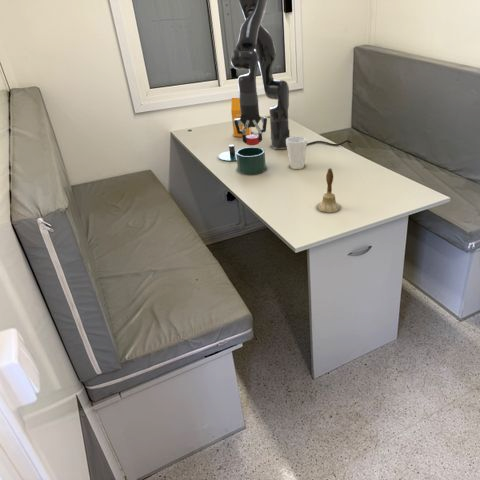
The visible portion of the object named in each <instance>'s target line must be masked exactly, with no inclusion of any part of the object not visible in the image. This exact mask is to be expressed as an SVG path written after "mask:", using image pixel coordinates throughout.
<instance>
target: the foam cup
mask: <svg viewBox="0 0 480 480" xmlns="http://www.w3.org/2000/svg"><path fill="white" fill-rule="evenodd" d="M307 144H308V139H307V137H304V136H300V135H298V136H297V135H295V136H290V137H289V138H287V139H286V145H287V148H286V150H287V155H288V160H289V167H290V168H291V169H292V170H293V169H294V170H301V169H304V167H305V161H306V152H307V146H308V145H307Z"/></svg>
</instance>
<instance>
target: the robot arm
mask: <svg viewBox="0 0 480 480" xmlns="http://www.w3.org/2000/svg"><path fill="white" fill-rule="evenodd" d="M238 2H239V6H240V8H241V12H242V13H243V17H244V20H245V21H244V22H243V23H242V24H241V27H240V30H239V36H238V41H237V43H236V45H235V46H234V47H233V50H232V52H231V56H230V63H231V65H232V67H233V68H234V69H235V70H248V71H249V72H248V73H246V74H242V75H239V76H238V78H237V83H238V84H237V85H238V95H239V96H238V98H239V102H240V111H241V117H240V118H239V119H234V122H235V126H236V129H237V132H238V134H242V136H241V139H242V142H243V143H244V144H246V135H245V132H246V130H247V127H248V128H250V127H251V128H256V130H257V135H258V136H259V143H261V142H262V141H263V133H265V132H266V131H267V123H268V117H267V116H260V108H259V97H258V91H257V72H258V66H259V71H260V76H261V80H262V86H263V90H264V94H265V97H267V98H268V100H269V99H270V100H275V101H277V104H276V105H273V106H270V107H269V125H270V142H271V143H270V144H271V145H270V146H271V148H273V149H274V150H287V145H286V139H287V138H289V137H291V135H290V128H289V106H290V87H289V84H288V82H287V81H286V80H282V79H275V78H274V76H273V70H272V69H273V66H274V62H275V60H276V55H277V51H276V50H277V49H276V46H275V43H274V38H273V37H272V35H271V34H270V33H269V32H268V30H267V29H266V28H265V27H263V25H262V21H263V19H264V15H265V12H266V10H267V5H268V0H238ZM240 121H241V122H242V123H243V124H244V125H243V129H242V130H240V129H239V125H238V124H240ZM260 122H261V123H262V128H260V125H259V123H260ZM317 143H318V144H319V143H321V144H326V145H329V146H334V147H335V146H336V147H338V146H343V145H344V144H345V143H349V144H353V142H352V141H351V140H349V139H348V140H347V139H346V140H344V141H342V142H340V143H333V142H328V141H323V140H315V141H312V142H307V145H306V146H309V145H314V144H317Z"/></svg>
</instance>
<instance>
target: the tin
mask: <svg viewBox="0 0 480 480" xmlns="http://www.w3.org/2000/svg"><path fill="white" fill-rule="evenodd" d="M235 151H236V155H237V161H236V164H237V171H238V172H239V173H241V175H242V174H243V175H247V176H253V175H258V174H261V173H264V171H266V168H267V167H266V152H265V149H264V148H261V147H258V146H246V147H242V148H239V149H238V150H235Z"/></svg>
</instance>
